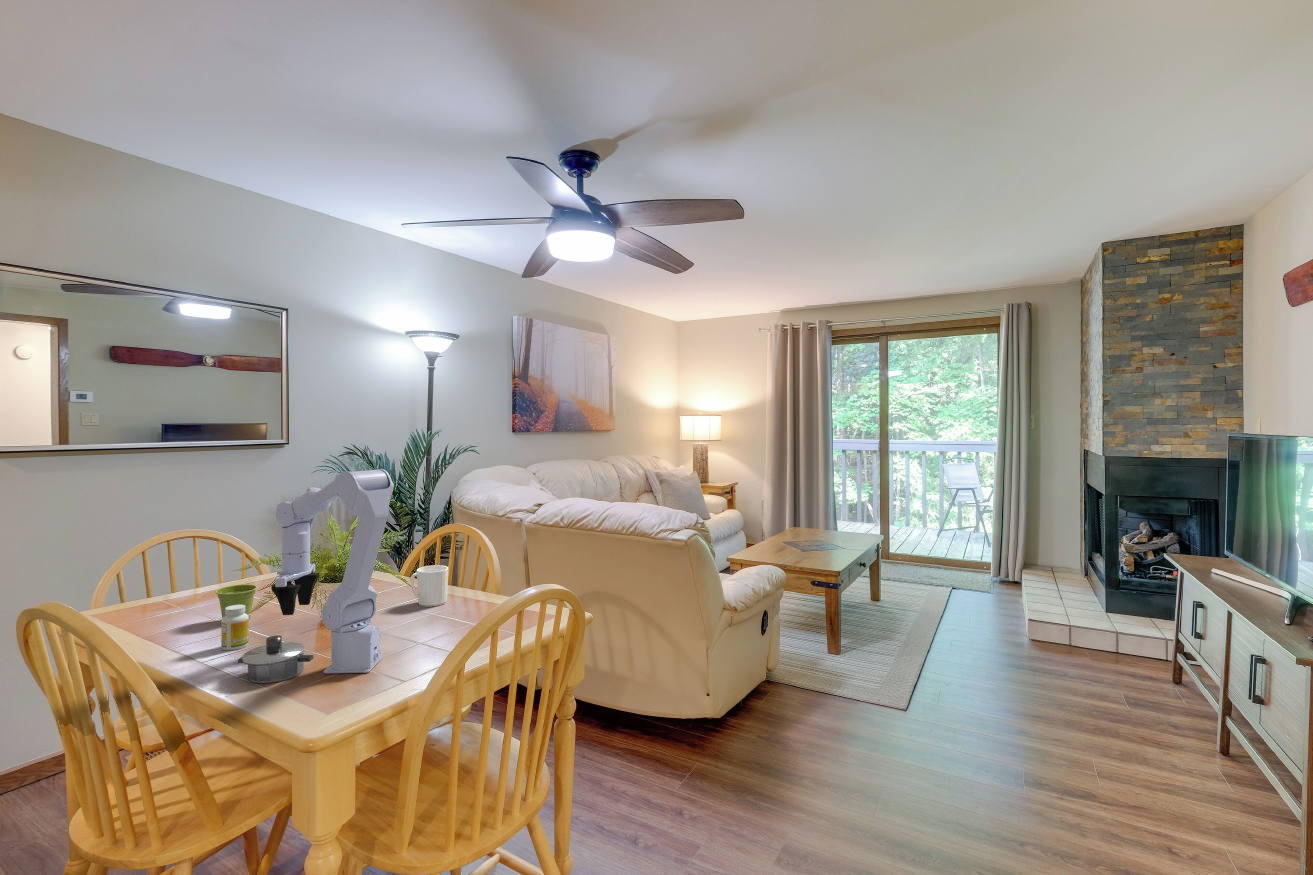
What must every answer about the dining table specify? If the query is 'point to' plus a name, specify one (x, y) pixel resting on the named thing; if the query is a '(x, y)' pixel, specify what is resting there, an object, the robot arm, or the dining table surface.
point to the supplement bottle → (234, 628)
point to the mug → (431, 585)
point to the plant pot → (236, 597)
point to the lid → (273, 652)
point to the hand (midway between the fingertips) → (296, 609)
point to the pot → (276, 670)
